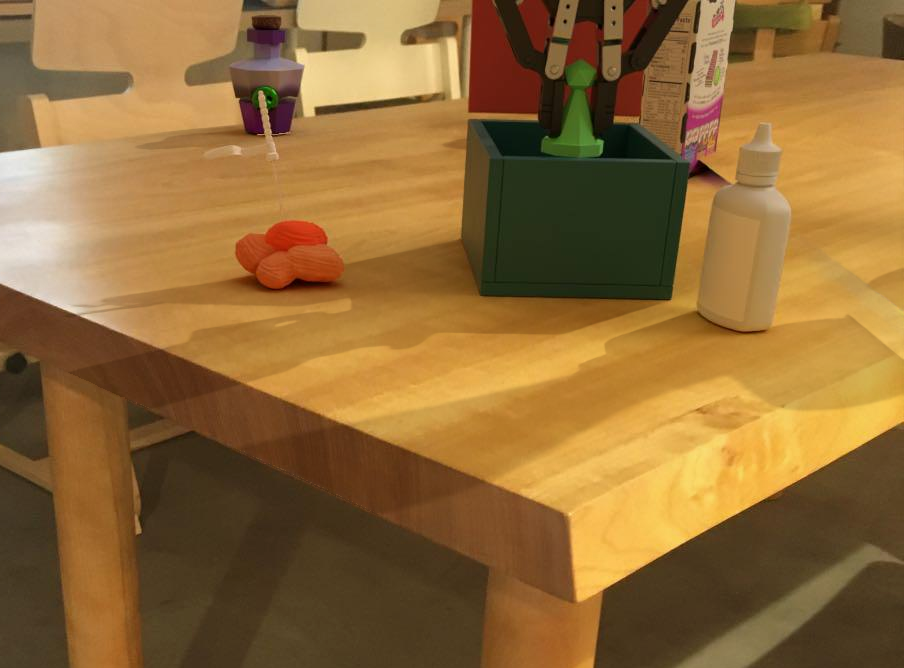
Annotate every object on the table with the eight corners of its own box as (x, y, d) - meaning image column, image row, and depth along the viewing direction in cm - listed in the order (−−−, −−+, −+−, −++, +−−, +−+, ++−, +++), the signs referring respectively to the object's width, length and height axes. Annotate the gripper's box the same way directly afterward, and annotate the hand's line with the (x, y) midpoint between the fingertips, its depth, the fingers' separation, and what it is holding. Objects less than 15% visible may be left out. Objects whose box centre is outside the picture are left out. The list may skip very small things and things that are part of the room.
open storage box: (671, 299, 83) (691, 162, 79) (480, 295, 83) (489, 157, 79) (624, 241, 97) (638, 122, 93) (460, 238, 97) (467, 118, 93)
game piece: (527, 151, 85) (536, 57, 82) (561, 144, 88) (570, 53, 85) (582, 160, 83) (592, 64, 80) (615, 152, 86) (626, 59, 83)
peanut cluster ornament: (227, 262, 89) (222, 84, 83) (356, 274, 87) (360, 92, 81) (195, 284, 83) (188, 96, 78) (331, 298, 81) (334, 105, 76)
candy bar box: (667, 160, 129) (690, -13, 121) (714, 166, 126) (741, -10, 119) (627, 177, 120) (650, -8, 112) (678, 184, 118) (704, -5, 110)
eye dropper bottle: (700, 331, 77) (732, 129, 71) (694, 305, 82) (722, 114, 76) (773, 336, 76) (810, 133, 71) (762, 310, 81) (796, 118, 76)
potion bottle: (241, 140, 133) (238, 18, 128) (219, 127, 140) (216, 11, 135) (317, 136, 136) (318, 18, 131) (292, 124, 143) (292, 11, 138)
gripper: (698, -148, 80) (662, 130, 88) (484, -155, 80) (466, 125, 88) (730, -153, 74) (687, 149, 82) (497, -160, 73) (476, 144, 81)
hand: (573, 135), depth 85 cm, fingers closed on game piece, 2 cm apart
